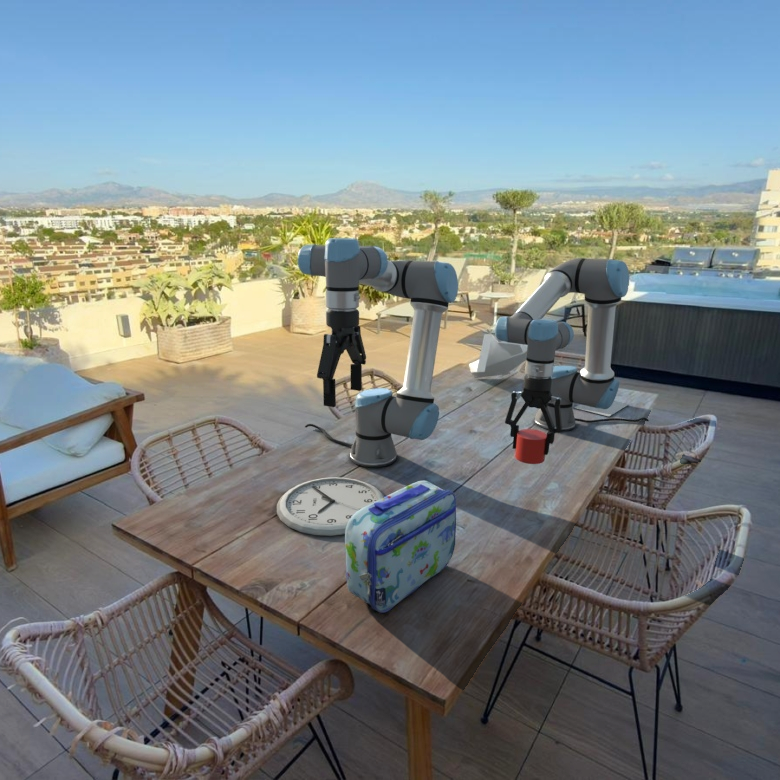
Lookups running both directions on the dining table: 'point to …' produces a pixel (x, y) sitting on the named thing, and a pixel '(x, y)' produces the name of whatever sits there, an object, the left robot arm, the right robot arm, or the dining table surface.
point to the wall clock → (325, 504)
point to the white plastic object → (498, 357)
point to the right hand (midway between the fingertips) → (530, 450)
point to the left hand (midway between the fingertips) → (343, 397)
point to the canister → (530, 446)
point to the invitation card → (606, 412)
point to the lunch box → (399, 543)
